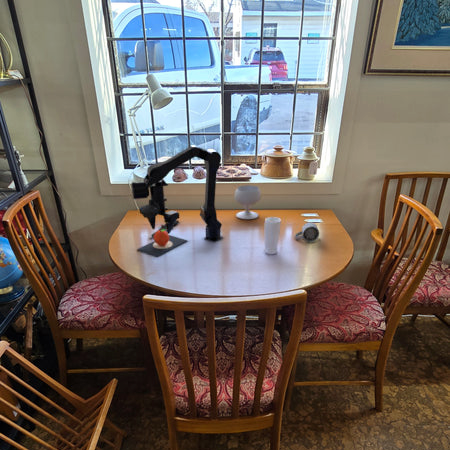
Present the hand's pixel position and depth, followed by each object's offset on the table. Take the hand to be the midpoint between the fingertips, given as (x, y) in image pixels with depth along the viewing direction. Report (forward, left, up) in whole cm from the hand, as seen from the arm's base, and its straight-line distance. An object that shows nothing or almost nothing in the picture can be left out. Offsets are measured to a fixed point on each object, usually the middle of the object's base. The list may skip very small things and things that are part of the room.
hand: (161, 231), depth 165 cm
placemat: (0, 0, -7) cm, 7 cm away
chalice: (-11, -55, -7) cm, 57 cm away
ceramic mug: (-51, -44, -7) cm, 68 cm away
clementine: (0, 0, -7) cm, 7 cm away
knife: (+12, -14, -7) cm, 20 cm away
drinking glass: (-44, -22, -7) cm, 50 cm away
